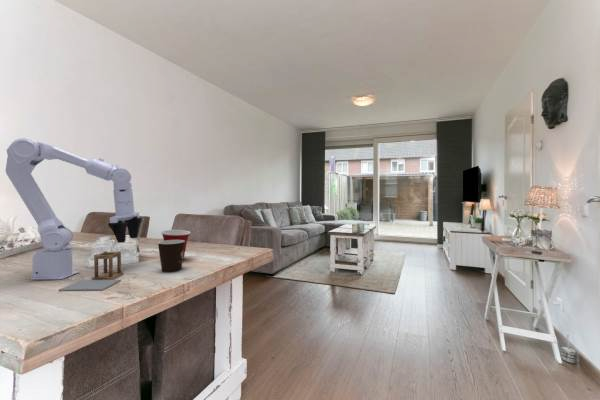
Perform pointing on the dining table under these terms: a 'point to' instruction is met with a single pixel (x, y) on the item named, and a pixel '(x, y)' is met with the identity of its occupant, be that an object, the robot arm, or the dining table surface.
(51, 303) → the dining table surface
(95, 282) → the felt mat
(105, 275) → the stool
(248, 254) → the dining table surface
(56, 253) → the robot arm
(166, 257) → the coffee mug
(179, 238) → the plastic cup
